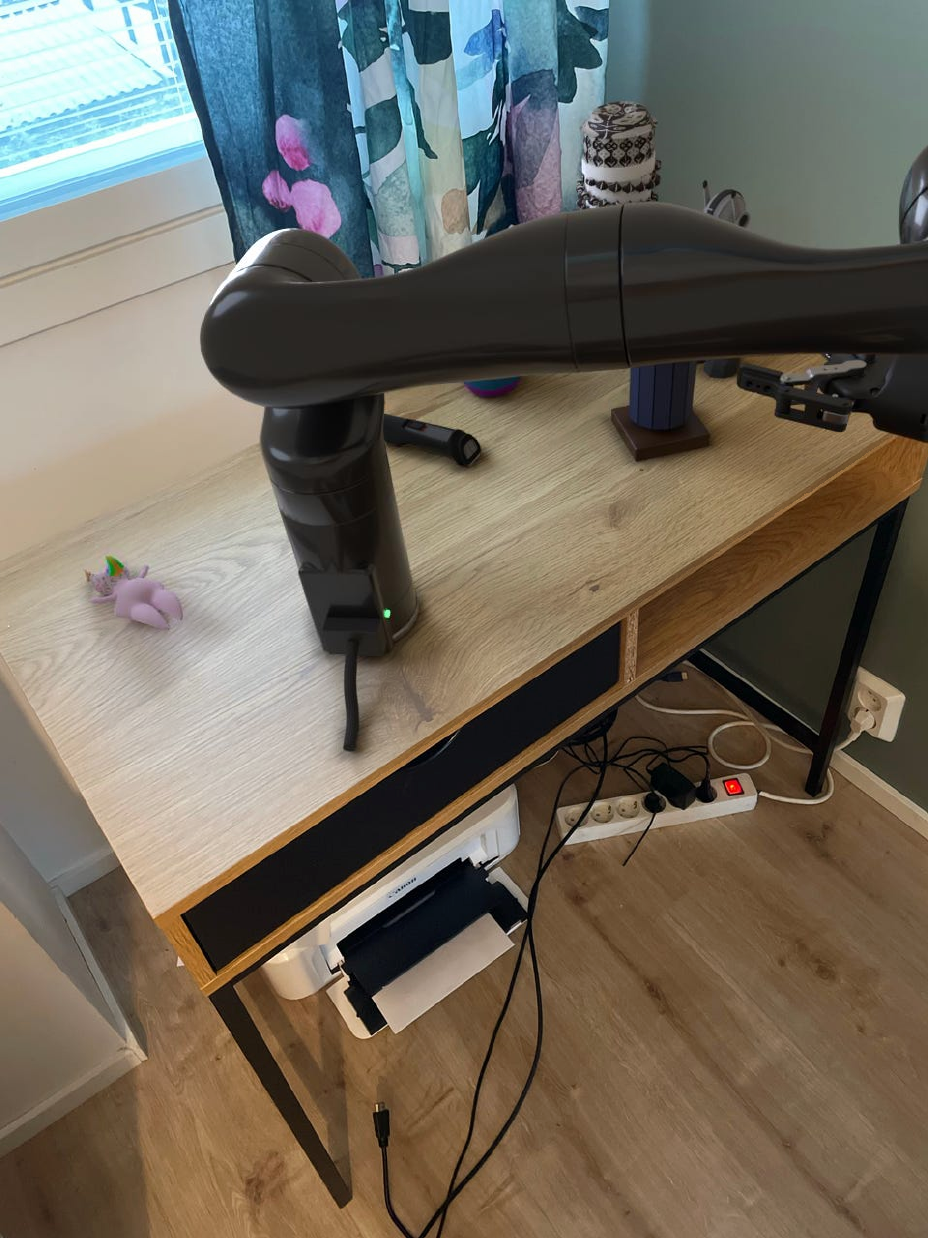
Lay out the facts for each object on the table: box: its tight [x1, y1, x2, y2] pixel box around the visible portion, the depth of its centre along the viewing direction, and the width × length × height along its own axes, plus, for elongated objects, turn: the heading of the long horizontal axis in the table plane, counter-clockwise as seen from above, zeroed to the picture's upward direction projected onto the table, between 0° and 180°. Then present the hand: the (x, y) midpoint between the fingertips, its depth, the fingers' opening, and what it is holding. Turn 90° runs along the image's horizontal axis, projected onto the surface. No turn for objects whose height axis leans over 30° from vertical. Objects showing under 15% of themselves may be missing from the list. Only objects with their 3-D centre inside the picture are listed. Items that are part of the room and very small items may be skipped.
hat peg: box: [610, 404, 711, 462], centre depth 91 cm, size 8×8×12 cm
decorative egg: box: [462, 376, 522, 398], centre depth 102 cm, size 8×8×10 cm
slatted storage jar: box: [628, 361, 698, 430], centre depth 90 cm, size 6×6×11 cm
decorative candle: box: [575, 100, 662, 210], centre depth 102 cm, size 9×9×25 cm
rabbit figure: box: [83, 555, 184, 631], centre depth 82 cm, size 6×6×15 cm
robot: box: [697, 179, 751, 379], centre depth 97 cm, size 20×5×20 cm, turn 34°
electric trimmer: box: [383, 413, 482, 467], centre depth 98 cm, size 4×16×3 cm, turn 59°
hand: (759, 352), depth 81 cm, fingers open, 8 cm apart
